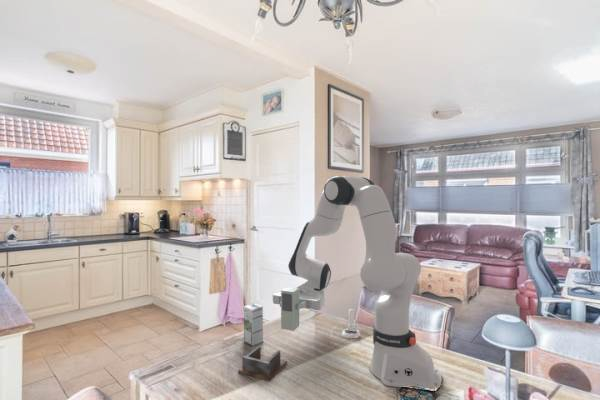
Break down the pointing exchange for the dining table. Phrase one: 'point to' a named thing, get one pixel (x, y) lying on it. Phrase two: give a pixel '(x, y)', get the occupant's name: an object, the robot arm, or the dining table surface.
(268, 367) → the bracket socket
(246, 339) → the syrup box
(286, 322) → the pale green block
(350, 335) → the white vr controller
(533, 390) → the dining table surface
